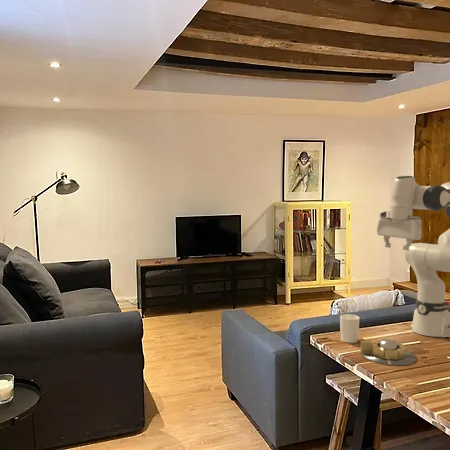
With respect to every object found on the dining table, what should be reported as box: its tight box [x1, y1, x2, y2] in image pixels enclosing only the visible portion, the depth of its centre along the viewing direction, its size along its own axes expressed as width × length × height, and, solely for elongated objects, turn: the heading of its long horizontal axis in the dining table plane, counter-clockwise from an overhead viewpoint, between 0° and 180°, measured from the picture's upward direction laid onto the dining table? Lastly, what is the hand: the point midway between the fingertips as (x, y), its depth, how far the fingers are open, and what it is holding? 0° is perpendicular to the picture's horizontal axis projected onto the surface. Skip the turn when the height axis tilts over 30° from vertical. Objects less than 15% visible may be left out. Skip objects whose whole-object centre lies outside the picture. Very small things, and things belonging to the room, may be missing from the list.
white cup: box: [339, 313, 360, 344], centre depth 193 cm, size 8×8×10 cm
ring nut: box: [360, 339, 407, 360], centre depth 176 cm, size 16×12×4 cm
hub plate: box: [360, 338, 417, 367], centre depth 176 cm, size 20×20×5 cm
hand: (396, 248), depth 189 cm, fingers open, 8 cm apart
